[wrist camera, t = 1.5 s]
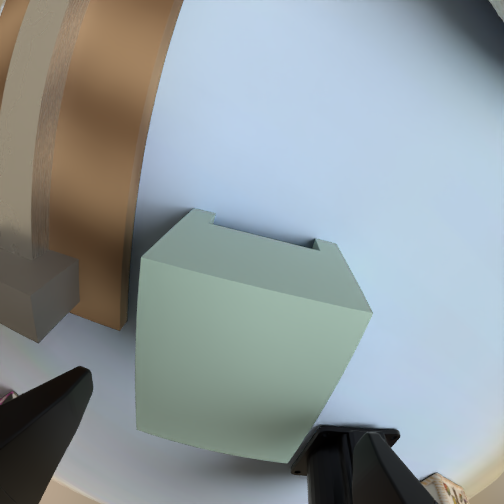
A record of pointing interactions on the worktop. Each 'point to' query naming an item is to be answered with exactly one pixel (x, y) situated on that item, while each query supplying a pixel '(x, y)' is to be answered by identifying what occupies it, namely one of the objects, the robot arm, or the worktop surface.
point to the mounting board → (101, 140)
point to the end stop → (37, 291)
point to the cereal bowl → (498, 7)
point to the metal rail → (34, 121)
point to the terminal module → (241, 337)
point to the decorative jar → (444, 490)
